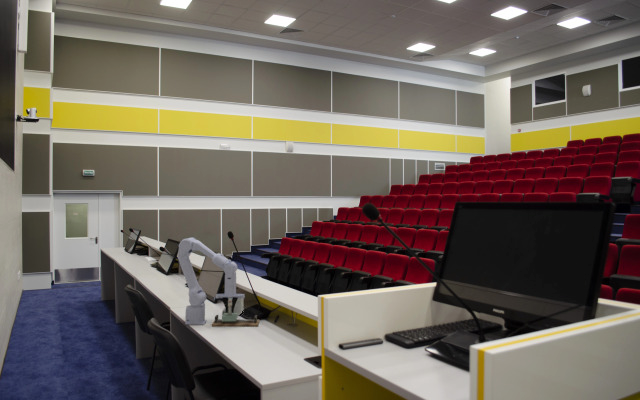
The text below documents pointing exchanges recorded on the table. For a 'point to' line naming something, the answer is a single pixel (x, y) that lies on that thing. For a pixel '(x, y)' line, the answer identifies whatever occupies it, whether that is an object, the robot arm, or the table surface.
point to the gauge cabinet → (225, 311)
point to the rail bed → (235, 323)
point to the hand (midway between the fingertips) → (229, 312)
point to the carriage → (230, 315)
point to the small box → (237, 305)
